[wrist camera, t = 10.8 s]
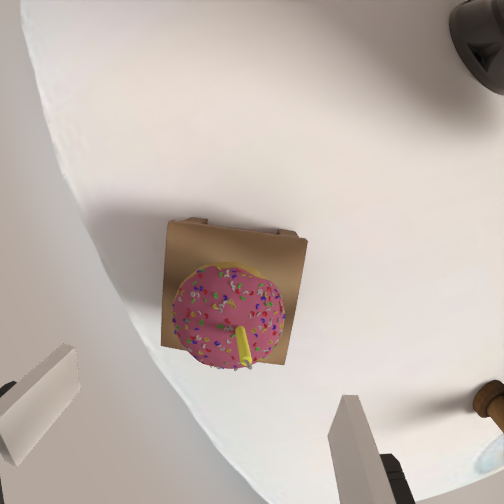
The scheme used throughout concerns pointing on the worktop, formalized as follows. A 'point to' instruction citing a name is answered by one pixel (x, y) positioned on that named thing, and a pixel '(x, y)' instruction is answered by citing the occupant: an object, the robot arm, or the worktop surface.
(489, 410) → the brown chess pawn
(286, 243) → the walnut stool
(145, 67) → the worktop surface
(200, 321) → the cupcake
